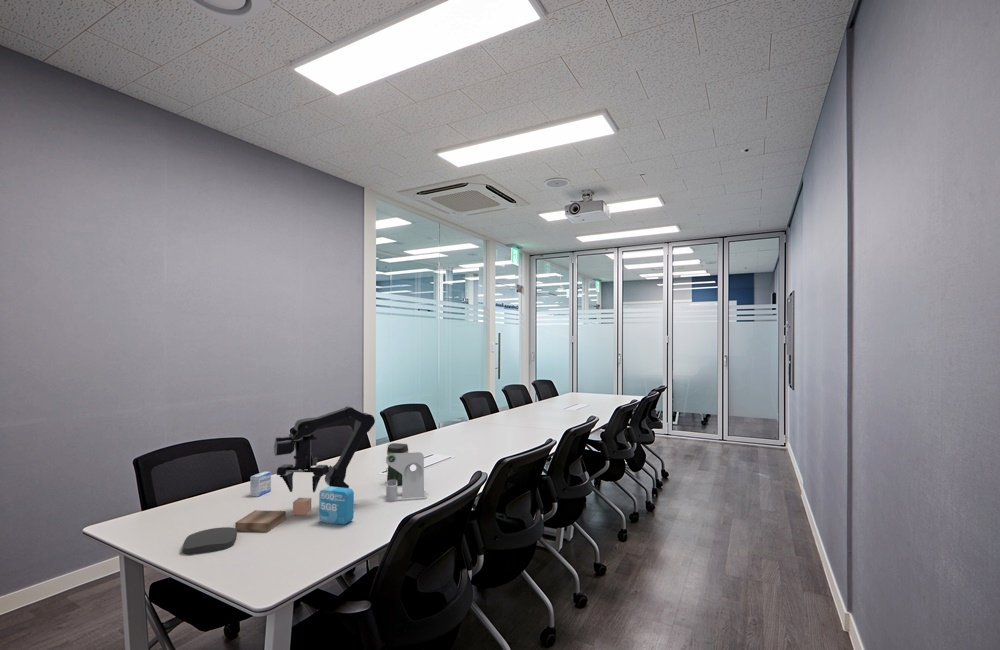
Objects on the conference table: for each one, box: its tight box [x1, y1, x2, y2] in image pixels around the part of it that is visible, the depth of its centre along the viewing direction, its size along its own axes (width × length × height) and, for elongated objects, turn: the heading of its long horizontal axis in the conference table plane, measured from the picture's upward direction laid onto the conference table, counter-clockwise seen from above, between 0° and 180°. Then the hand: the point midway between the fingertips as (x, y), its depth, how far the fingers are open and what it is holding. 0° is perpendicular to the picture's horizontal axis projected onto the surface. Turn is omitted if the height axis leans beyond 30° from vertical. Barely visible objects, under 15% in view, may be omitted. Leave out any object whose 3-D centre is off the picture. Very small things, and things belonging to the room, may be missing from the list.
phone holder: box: [385, 451, 428, 503], centre depth 203 cm, size 17×10×18 cm, turn 102°
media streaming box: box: [182, 526, 238, 556], centre depth 156 cm, size 15×15×3 cm
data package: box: [318, 485, 355, 526], centre depth 175 cm, size 12×4×12 cm, turn 74°
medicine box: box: [249, 471, 272, 497], centre depth 207 cm, size 8×4×9 cm, turn 168°
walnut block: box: [234, 509, 287, 533], centre depth 172 cm, size 12×12×3 cm
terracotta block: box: [292, 497, 312, 516], centre depth 184 cm, size 5×5×5 cm
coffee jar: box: [386, 442, 409, 486], centre depth 223 cm, size 10×8×19 cm
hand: (302, 491), depth 184 cm, fingers open, 9 cm apart
